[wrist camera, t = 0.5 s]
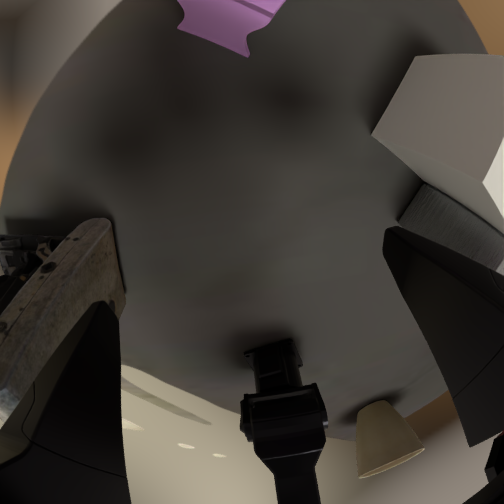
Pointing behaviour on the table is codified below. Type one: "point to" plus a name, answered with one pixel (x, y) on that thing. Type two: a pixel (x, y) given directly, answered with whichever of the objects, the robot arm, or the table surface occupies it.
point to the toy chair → (227, 20)
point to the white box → (452, 128)
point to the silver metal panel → (454, 227)
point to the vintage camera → (50, 297)
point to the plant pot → (383, 439)
